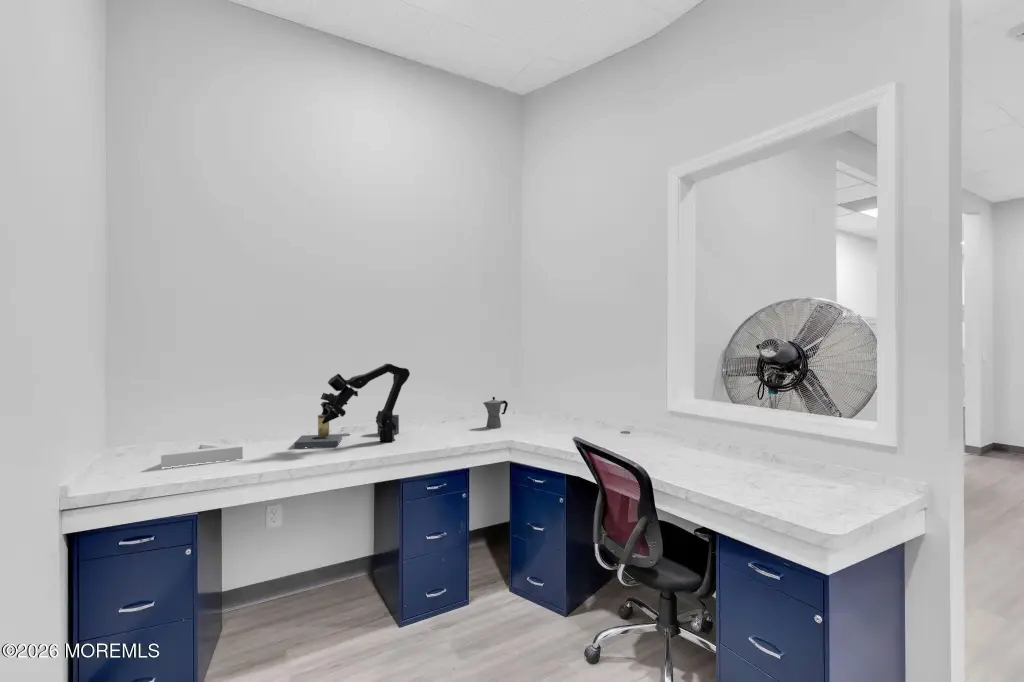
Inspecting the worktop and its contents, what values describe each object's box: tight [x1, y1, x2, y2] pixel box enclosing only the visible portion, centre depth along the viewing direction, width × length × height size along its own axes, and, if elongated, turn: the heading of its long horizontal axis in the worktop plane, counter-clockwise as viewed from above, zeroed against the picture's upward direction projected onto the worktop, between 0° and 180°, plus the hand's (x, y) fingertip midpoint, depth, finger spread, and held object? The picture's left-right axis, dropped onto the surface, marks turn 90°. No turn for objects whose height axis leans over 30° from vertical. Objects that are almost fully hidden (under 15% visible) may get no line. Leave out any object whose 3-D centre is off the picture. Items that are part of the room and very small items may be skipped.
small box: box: [377, 414, 400, 436], centre depth 294 cm, size 11×6×10 cm, turn 84°
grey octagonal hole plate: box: [294, 433, 343, 449], centre depth 267 cm, size 20×18×3 cm
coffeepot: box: [482, 396, 509, 429], centre depth 315 cm, size 15×9×18 cm, turn 109°
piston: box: [317, 413, 330, 437], centre depth 252 cm, size 5×5×10 cm
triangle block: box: [160, 440, 244, 468], centre depth 233 cm, size 30×26×6 cm
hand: (320, 422), depth 251 cm, fingers closed on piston, 5 cm apart
